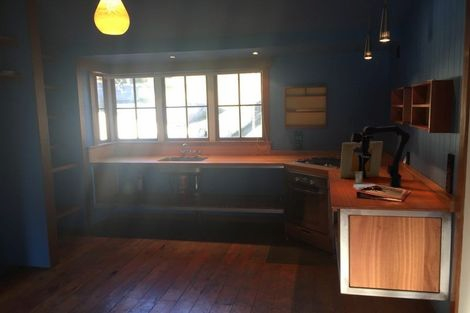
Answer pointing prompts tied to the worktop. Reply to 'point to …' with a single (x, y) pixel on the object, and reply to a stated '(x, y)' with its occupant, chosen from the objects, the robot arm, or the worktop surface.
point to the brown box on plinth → (358, 178)
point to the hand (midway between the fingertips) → (361, 165)
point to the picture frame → (352, 161)
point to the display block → (362, 186)
